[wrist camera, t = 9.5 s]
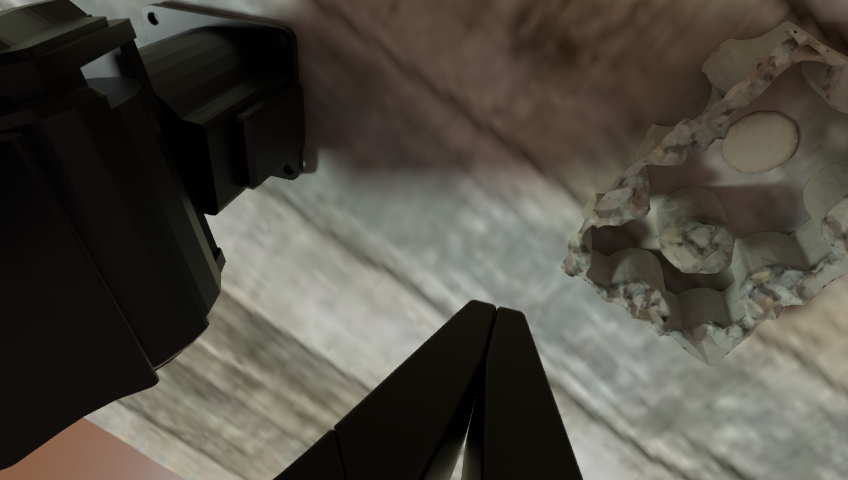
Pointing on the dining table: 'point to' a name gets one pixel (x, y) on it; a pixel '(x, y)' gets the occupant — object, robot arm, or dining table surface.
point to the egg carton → (704, 213)
